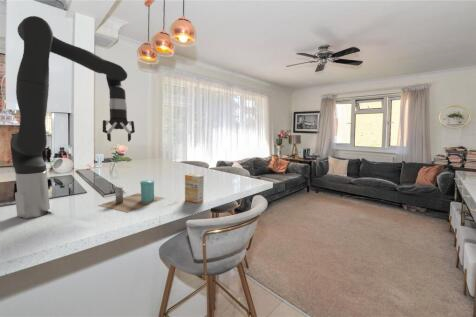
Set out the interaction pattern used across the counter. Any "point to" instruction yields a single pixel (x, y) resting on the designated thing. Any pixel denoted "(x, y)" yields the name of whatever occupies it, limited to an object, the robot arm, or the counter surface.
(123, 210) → the post stand
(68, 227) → the counter surface
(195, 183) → the supplement box
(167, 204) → the counter surface
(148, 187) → the teal cylinder
